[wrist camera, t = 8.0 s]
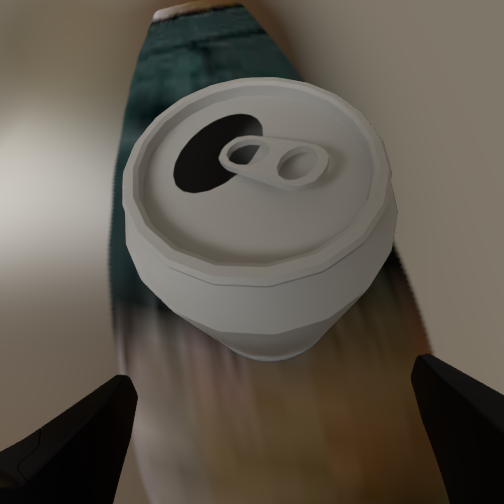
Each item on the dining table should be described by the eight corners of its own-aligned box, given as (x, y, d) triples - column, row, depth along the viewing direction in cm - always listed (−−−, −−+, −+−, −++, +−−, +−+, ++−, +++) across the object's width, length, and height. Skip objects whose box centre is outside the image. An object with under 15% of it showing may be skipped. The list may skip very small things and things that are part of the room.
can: (247, 219, 19) (214, 48, 8) (354, 271, 17) (438, 115, 6) (182, 318, 17) (44, 211, 6) (294, 384, 15) (338, 405, 4)
